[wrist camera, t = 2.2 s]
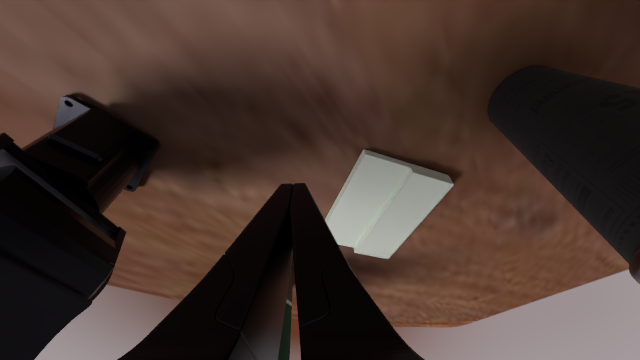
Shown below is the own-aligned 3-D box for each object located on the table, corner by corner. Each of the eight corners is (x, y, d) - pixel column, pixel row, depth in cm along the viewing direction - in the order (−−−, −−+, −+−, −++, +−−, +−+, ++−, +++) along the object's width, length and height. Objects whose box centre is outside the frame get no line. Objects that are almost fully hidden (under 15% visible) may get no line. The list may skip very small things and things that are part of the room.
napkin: (385, 248, 31) (388, 259, 30) (316, 234, 29) (317, 245, 28) (447, 174, 24) (455, 184, 23) (363, 149, 22) (366, 158, 21)
